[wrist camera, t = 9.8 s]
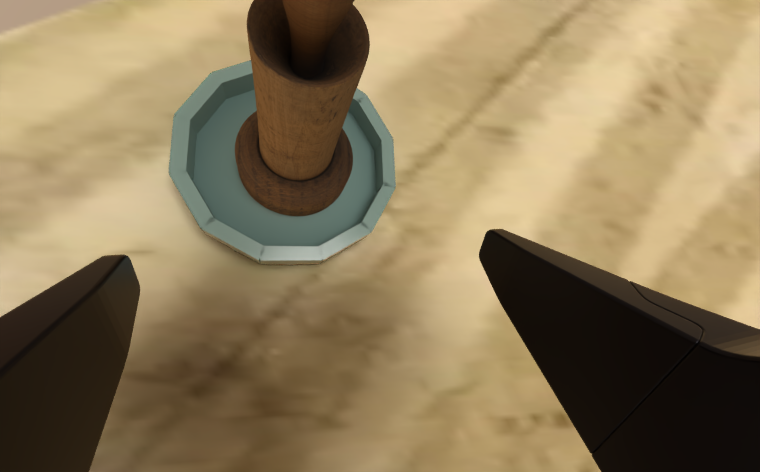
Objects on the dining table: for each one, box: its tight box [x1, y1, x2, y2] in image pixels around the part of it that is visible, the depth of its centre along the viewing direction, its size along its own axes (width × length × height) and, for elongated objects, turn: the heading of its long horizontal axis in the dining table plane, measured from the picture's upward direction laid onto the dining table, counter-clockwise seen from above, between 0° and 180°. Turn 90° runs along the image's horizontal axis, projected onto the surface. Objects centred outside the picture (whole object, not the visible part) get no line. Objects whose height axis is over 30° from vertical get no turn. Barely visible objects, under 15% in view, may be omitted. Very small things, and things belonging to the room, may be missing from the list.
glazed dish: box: [169, 60, 396, 265], centre depth 21 cm, size 13×13×2 cm
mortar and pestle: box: [235, 0, 370, 216], centre depth 13 cm, size 7×6×18 cm
